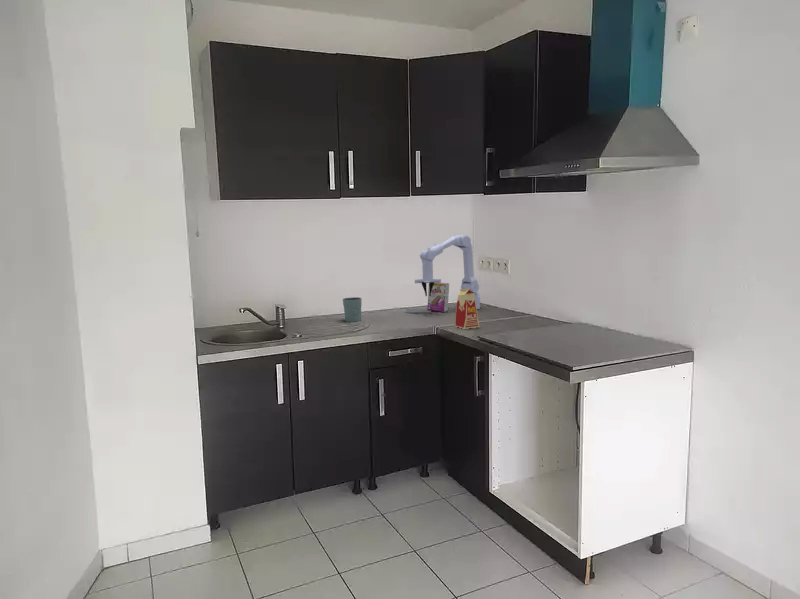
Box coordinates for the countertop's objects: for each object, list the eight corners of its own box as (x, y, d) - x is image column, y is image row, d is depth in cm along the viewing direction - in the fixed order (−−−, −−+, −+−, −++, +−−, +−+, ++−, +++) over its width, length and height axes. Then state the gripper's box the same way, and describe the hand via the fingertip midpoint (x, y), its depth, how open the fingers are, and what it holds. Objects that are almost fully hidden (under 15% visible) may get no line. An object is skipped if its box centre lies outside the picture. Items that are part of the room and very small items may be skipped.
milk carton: (479, 327, 288) (479, 287, 285) (464, 329, 283) (464, 288, 280) (468, 324, 296) (468, 285, 293) (453, 326, 291) (453, 286, 288)
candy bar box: (426, 309, 339) (428, 281, 336) (431, 308, 343) (432, 281, 340) (444, 312, 333) (445, 283, 330) (448, 311, 337) (449, 283, 335)
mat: (431, 309, 345) (431, 308, 344) (431, 313, 332) (431, 312, 332) (406, 309, 346) (406, 308, 346) (404, 313, 333) (404, 312, 333)
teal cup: (357, 322, 309) (356, 300, 307) (340, 321, 312) (339, 299, 310) (365, 319, 318) (364, 297, 316) (348, 318, 321) (347, 296, 320)
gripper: (414, 272, 322) (414, 297, 324) (440, 272, 320) (441, 296, 322) (414, 271, 329) (415, 295, 331) (440, 270, 327) (441, 295, 329)
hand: (428, 295), depth 327 cm, fingers closed
